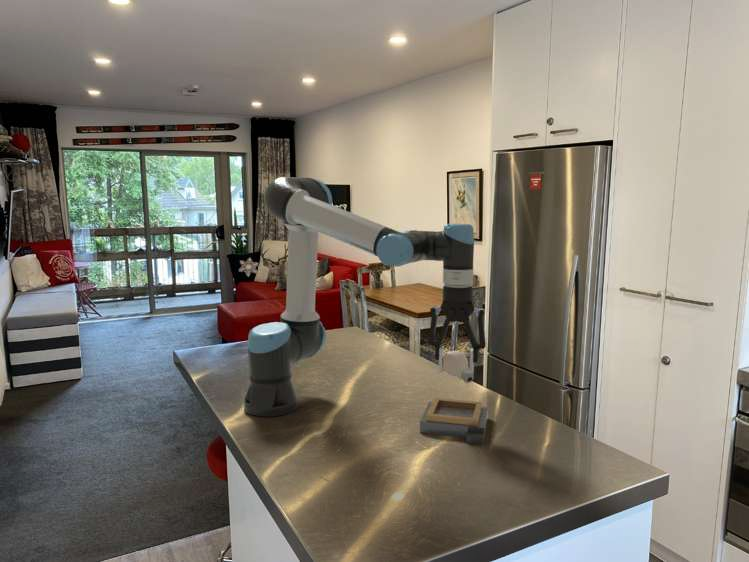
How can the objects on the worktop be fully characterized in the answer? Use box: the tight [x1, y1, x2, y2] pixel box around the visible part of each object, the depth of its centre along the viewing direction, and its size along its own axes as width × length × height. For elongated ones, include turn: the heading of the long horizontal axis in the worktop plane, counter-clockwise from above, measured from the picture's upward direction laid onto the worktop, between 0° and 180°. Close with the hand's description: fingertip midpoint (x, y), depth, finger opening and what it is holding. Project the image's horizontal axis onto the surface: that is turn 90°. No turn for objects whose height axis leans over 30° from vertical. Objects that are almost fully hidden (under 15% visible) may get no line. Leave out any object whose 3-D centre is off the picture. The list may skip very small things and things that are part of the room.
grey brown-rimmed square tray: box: [419, 397, 489, 445], centre depth 145 cm, size 16×21×4 cm
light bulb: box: [442, 350, 475, 384], centre depth 141 cm, size 7×7×11 cm
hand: (456, 372), depth 143 cm, fingers closed on light bulb, 7 cm apart
